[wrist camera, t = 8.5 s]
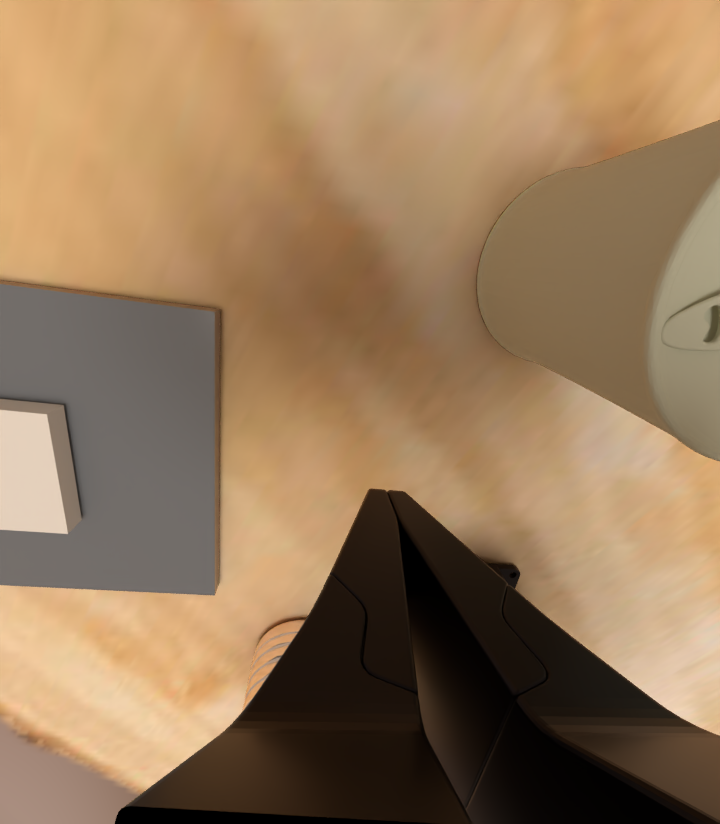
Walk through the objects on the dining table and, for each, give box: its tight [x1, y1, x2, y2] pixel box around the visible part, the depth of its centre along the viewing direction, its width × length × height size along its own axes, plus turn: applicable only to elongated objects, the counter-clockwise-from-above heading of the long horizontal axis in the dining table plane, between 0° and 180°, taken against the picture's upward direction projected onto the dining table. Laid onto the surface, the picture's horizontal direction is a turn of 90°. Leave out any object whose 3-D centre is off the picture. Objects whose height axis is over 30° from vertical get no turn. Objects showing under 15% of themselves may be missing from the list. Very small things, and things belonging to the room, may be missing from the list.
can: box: [477, 120, 720, 461], centre depth 14 cm, size 9×9×12 cm
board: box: [0, 280, 220, 595], centre depth 21 cm, size 18×16×1 cm
